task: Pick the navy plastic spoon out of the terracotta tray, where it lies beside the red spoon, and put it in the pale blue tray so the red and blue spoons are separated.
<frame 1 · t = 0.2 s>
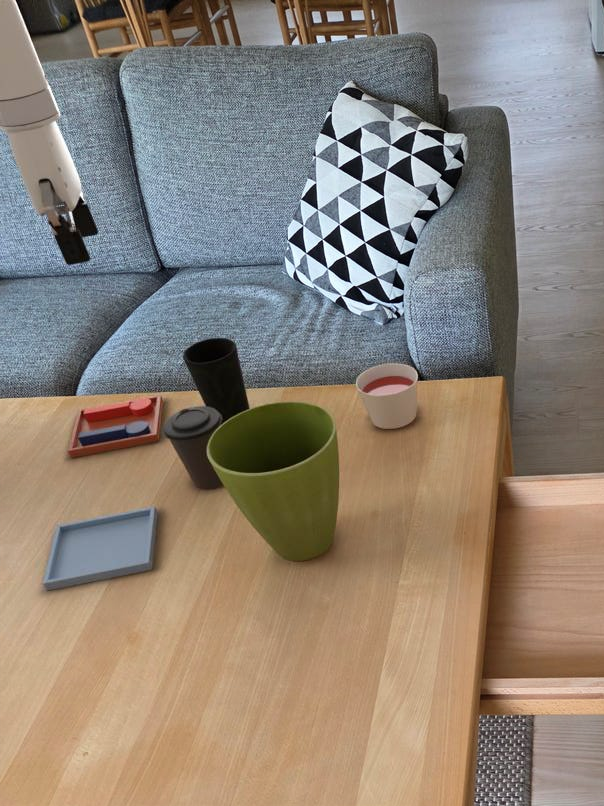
hand: (83, 248, 120), 25 cm above the table, tool pointing down, fingers open, 9 cm apart
red tray: (118, 428, 135), on the table
cup: (234, 424, 133), on the table
blue tray: (104, 550, 114), on the table
blue spoon: (115, 438, 132), resting on red tray
candle: (394, 418, 130), on the table
coffee cup: (213, 479, 123), on the table
flower pot: (304, 545, 111), on the table
red spoon: (119, 414, 137), resting on red tray
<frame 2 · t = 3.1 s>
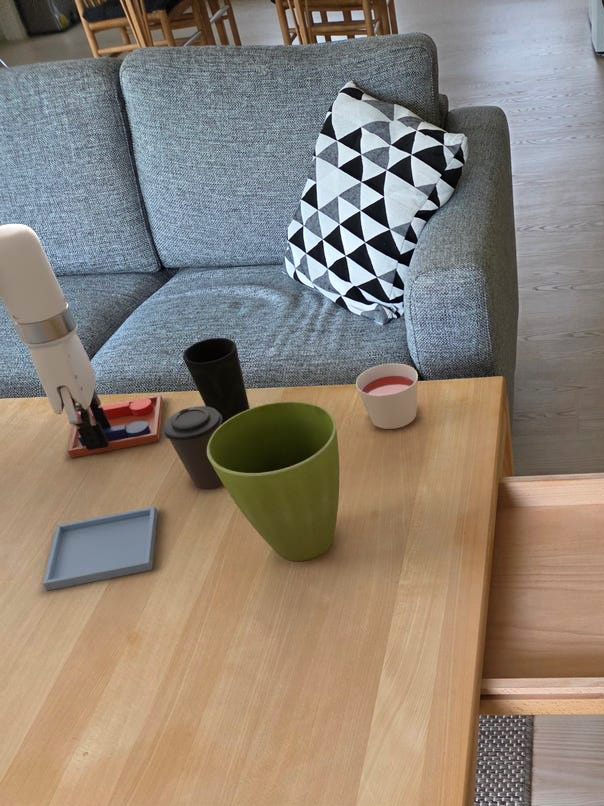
hand: (99, 439, 131), 1 cm above the table, tool pointing down, fingers open, 3 cm apart
nothing on the table moved.
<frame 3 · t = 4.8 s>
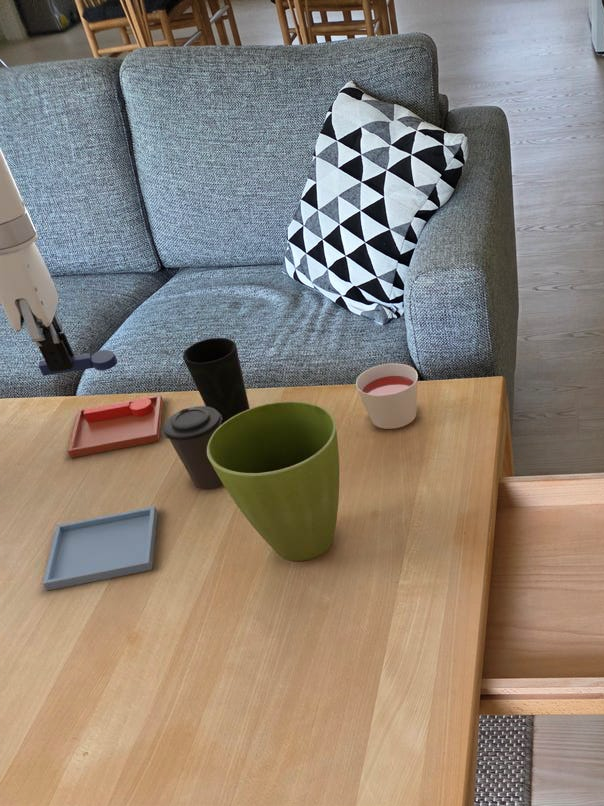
hand: (63, 364, 123), 13 cm above the table, tool pointing down, fingers closed on blue spoon, 1 cm apart
blue spoon: (79, 367, 124), point 12 cm above the table, tilted 6°, touching gripper
everything else where it was.
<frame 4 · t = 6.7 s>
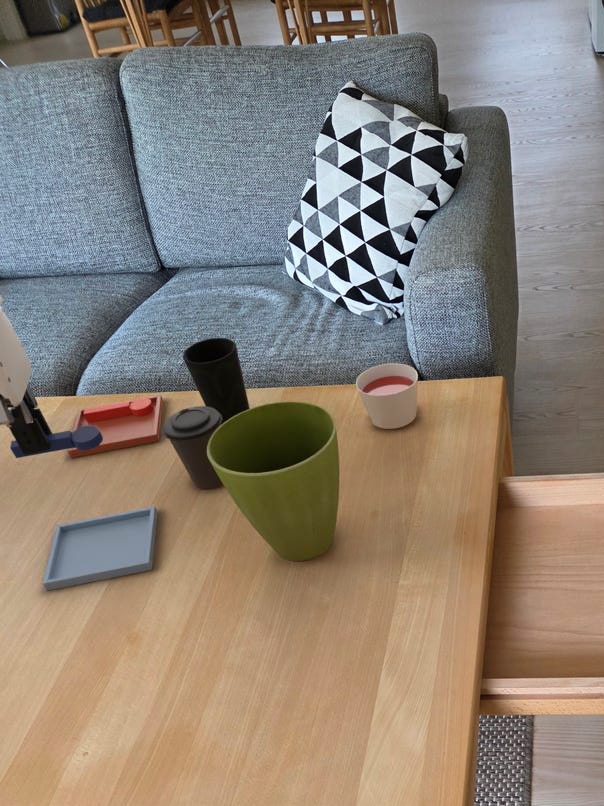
hand: (38, 445, 104), 15 cm above the table, tool pointing down, fingers closed on blue spoon, 1 cm apart
blue spoon: (58, 447, 105), point 14 cm above the table, tilted 5°, touching gripper
everything else where it was.
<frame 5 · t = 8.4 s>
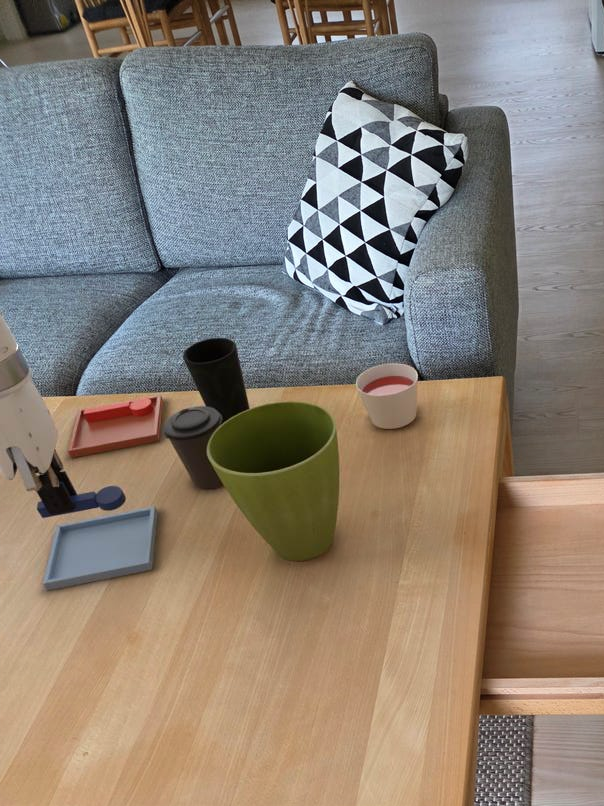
hand: (64, 505, 108), 8 cm above the table, tool pointing down, fingers closed on blue spoon, 1 cm apart
blue spoon: (83, 507, 109), point 7 cm above the table, tilted 5°, touching gripper
everything else where it was.
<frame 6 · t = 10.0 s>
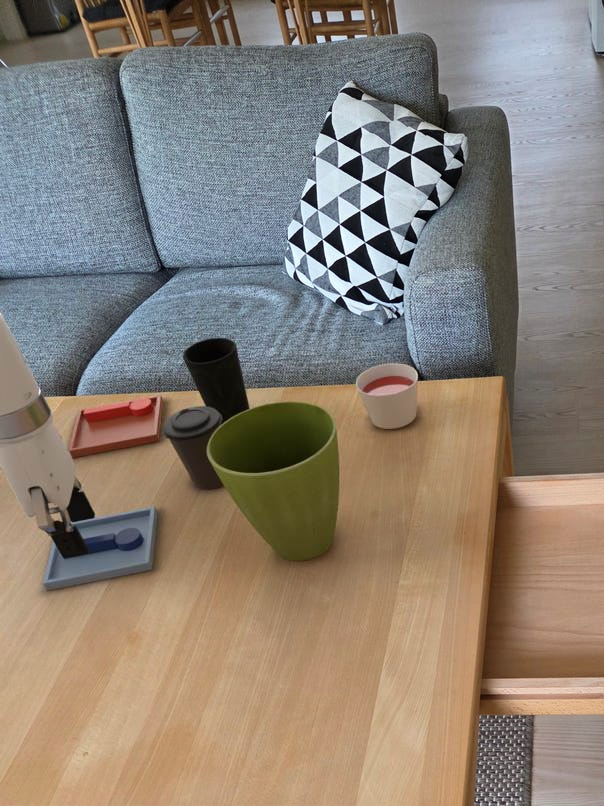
hand: (79, 535, 111), 3 cm above the table, tool pointing down, fingers open, 6 cm apart
blue spoon: (103, 548, 113), resting on blue tray
everything else where it was.
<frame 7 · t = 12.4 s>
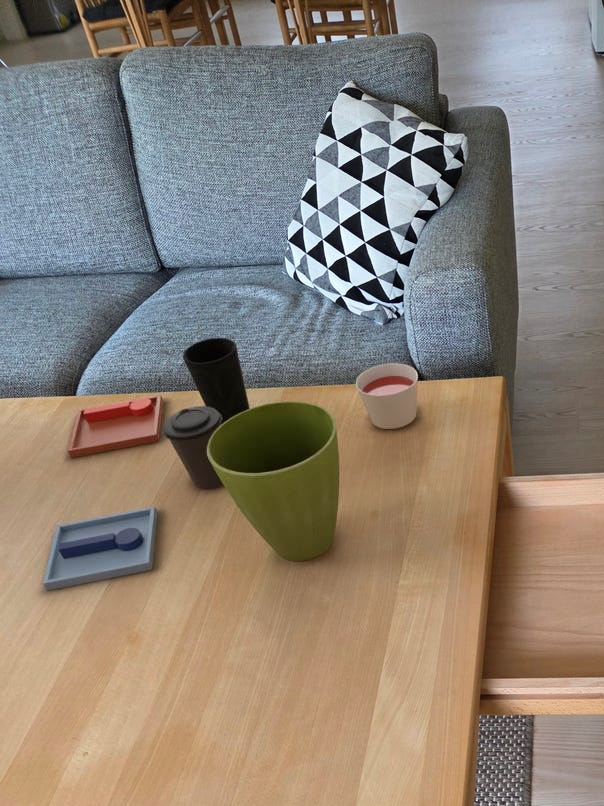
nothing on the table moved.
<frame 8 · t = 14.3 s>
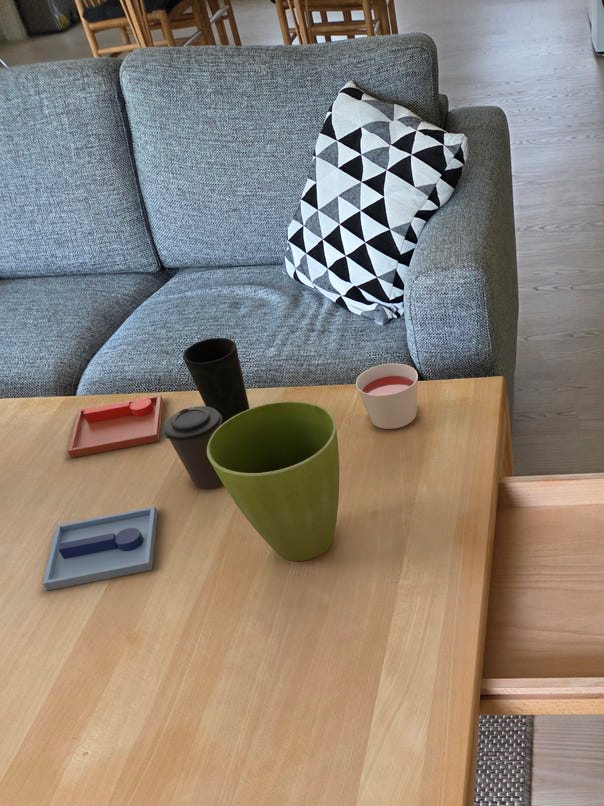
nothing on the table moved.
at the end: blue spoon inside the target area on the blue tray (0.1 cm from its centre), point 0.4 cm above the blue tray's base; red spoon inside the target area on the red tray (3.5 cm from its centre), point 0.4 cm above the red tray's base; the gripper is holding nothing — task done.
